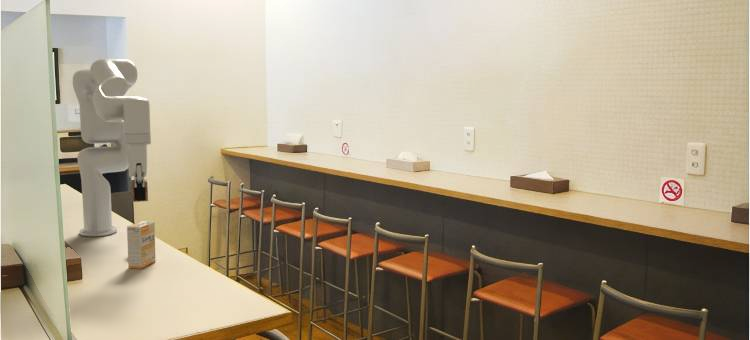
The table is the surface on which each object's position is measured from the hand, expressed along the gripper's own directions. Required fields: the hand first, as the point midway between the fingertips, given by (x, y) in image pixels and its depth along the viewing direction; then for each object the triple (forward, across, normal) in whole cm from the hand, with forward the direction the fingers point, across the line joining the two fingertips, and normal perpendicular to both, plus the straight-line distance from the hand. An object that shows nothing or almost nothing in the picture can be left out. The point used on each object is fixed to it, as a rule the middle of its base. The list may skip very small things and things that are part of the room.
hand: (139, 198), depth 195 cm
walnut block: (+1, 0, 0) cm, 1 cm away
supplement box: (+21, 0, 0) cm, 21 cm away
